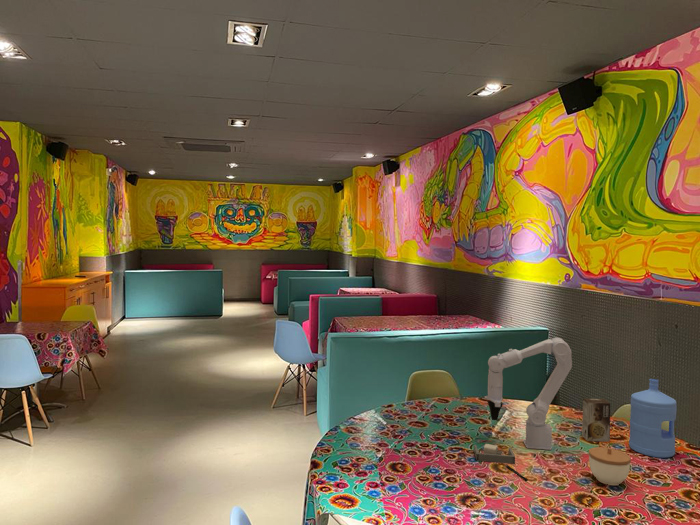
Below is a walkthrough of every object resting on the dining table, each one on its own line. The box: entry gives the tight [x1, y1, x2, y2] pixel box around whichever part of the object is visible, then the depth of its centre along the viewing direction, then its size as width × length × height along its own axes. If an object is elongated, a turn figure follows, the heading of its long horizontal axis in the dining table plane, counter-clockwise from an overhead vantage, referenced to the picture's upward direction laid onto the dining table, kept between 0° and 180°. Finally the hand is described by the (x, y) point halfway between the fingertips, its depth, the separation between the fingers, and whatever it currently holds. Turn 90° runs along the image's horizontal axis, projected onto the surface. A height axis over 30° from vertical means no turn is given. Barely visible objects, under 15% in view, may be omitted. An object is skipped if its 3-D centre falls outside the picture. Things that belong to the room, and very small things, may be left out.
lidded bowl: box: [588, 446, 632, 486], centre depth 172 cm, size 13×13×11 cm
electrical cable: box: [505, 464, 529, 482], centre depth 176 cm, size 12×1×1 cm, turn 16°
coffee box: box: [581, 397, 611, 443], centre depth 211 cm, size 9×6×16 cm
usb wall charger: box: [483, 443, 505, 455], centre depth 190 cm, size 4×7×4 cm, turn 64°
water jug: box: [628, 378, 678, 459], centre depth 199 cm, size 16×16×28 cm
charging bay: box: [473, 444, 516, 465], centre depth 189 cm, size 14×9×2 cm, turn 82°
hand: (494, 419), depth 205 cm, fingers closed
